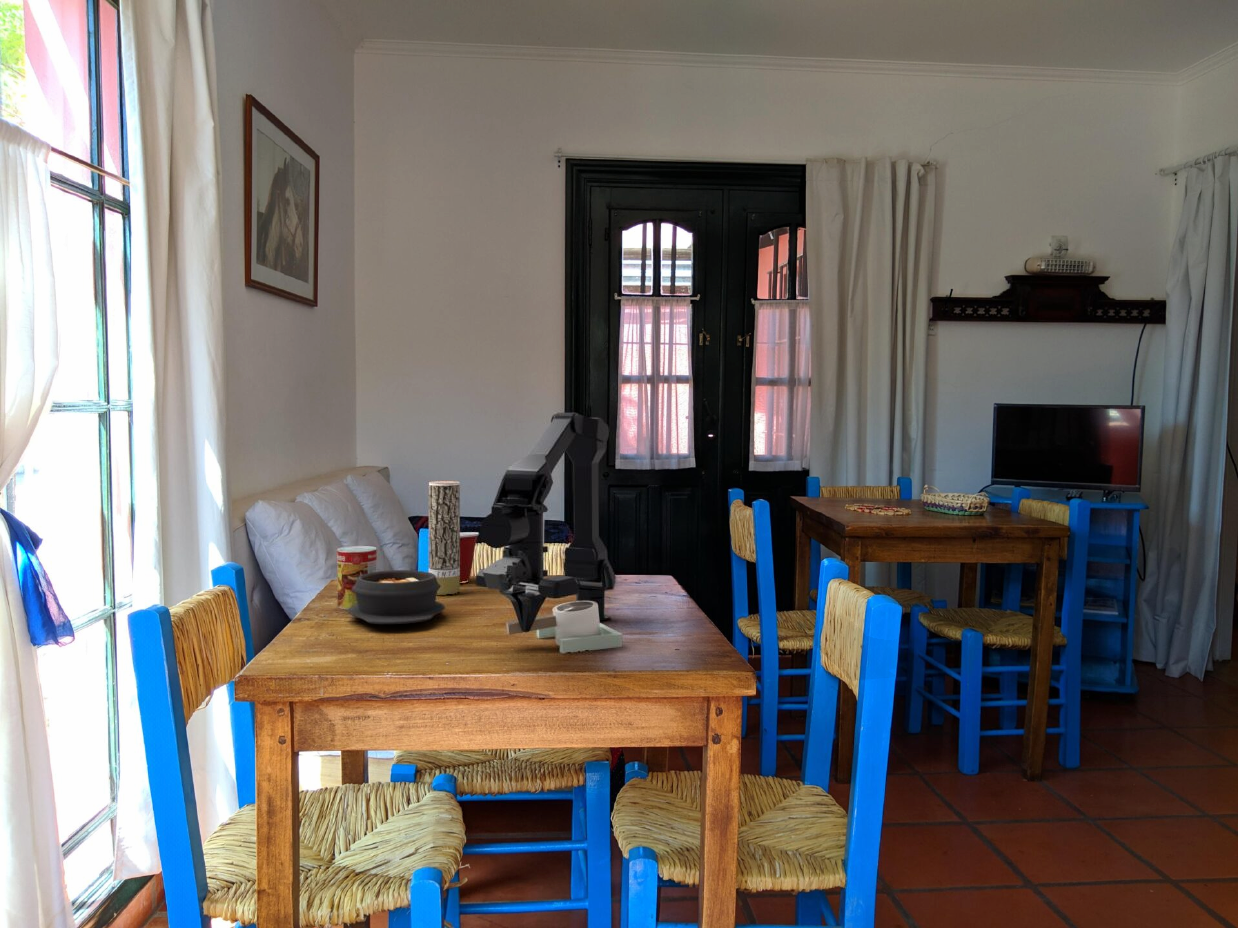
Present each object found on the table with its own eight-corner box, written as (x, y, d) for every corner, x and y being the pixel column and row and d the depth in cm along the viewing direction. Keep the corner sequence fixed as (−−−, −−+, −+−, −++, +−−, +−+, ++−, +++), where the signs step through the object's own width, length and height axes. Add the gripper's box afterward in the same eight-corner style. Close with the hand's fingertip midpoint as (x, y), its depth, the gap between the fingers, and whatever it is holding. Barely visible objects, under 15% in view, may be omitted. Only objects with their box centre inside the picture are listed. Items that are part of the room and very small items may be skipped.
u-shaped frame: (536, 636, 161) (536, 624, 161) (593, 630, 166) (593, 619, 166) (562, 653, 150) (562, 640, 150) (622, 646, 155) (622, 634, 155)
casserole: (451, 630, 166) (451, 585, 166) (347, 636, 161) (346, 590, 160) (438, 603, 190) (438, 564, 190) (347, 607, 185) (347, 567, 184)
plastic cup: (458, 576, 222) (458, 528, 221) (488, 582, 215) (488, 532, 214) (423, 582, 213) (423, 532, 213) (453, 588, 206) (453, 536, 206)
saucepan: (594, 632, 162) (590, 597, 162) (607, 642, 155) (603, 606, 154) (506, 648, 158) (502, 613, 157) (515, 660, 150) (510, 623, 149)
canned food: (342, 601, 190) (341, 546, 189) (379, 601, 191) (379, 545, 190) (333, 609, 182) (333, 551, 182) (373, 609, 183) (372, 551, 182)
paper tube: (422, 592, 201) (422, 482, 199) (448, 589, 205) (448, 480, 204) (439, 597, 196) (439, 483, 194) (465, 593, 200) (465, 482, 199)
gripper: (452, 540, 150) (452, 632, 151) (535, 551, 139) (535, 650, 140) (498, 534, 159) (498, 620, 160) (580, 543, 148) (579, 636, 149)
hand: (525, 631), depth 152 cm, fingers closed
